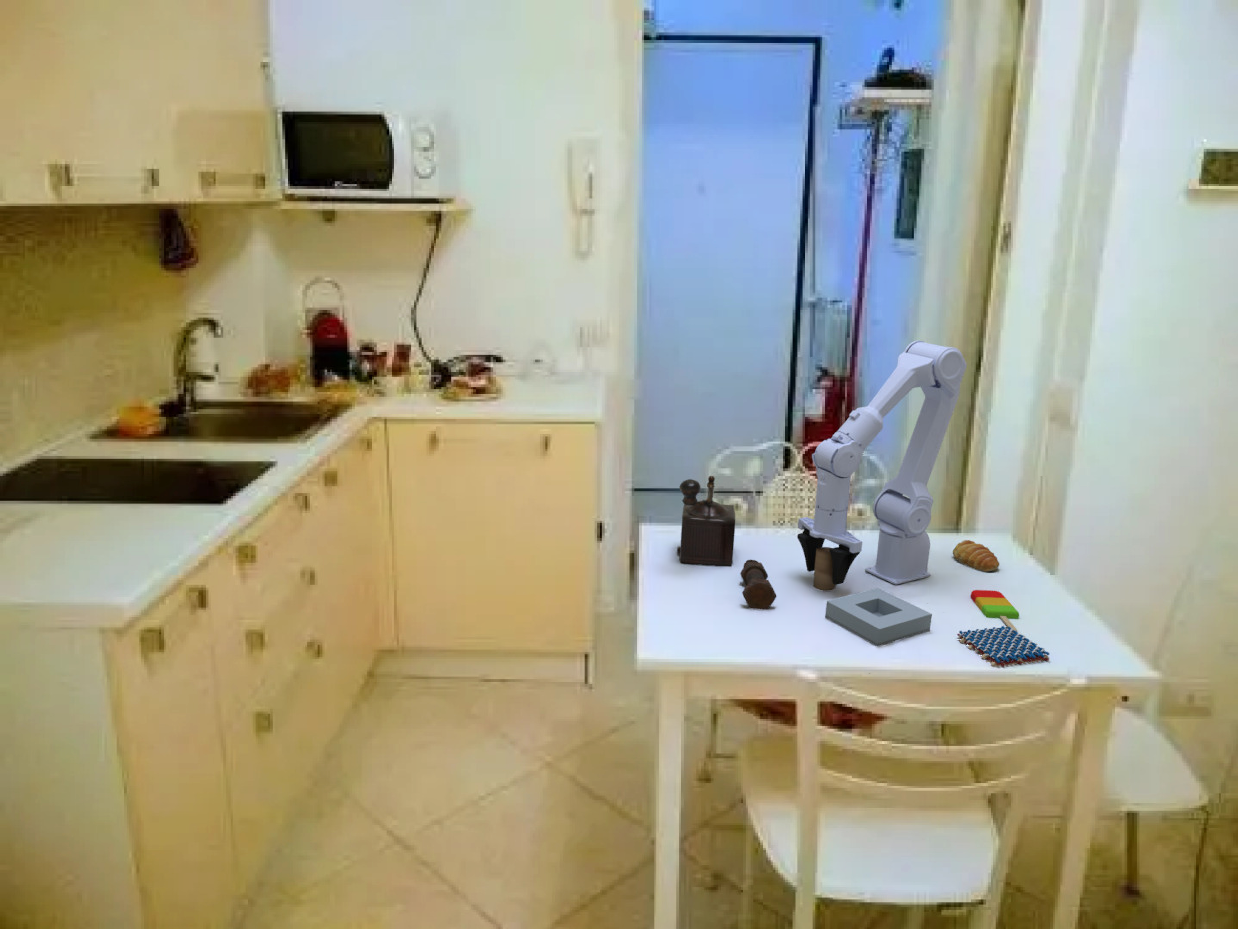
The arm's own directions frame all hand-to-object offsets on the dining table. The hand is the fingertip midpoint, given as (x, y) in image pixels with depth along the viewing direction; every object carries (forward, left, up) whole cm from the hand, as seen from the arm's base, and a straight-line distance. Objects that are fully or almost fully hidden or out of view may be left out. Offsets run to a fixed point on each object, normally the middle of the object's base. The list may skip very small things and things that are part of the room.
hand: (825, 576), depth 166 cm
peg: (0, 0, -2) cm, 2 cm away
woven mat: (-8, +32, -3) cm, 33 cm away
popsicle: (-19, +23, -3) cm, 30 cm away
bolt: (+13, -4, -2) cm, 14 cm away
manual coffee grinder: (+12, -21, -2) cm, 24 cm away
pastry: (-36, +5, -2) cm, 36 cm away
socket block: (+3, +16, -2) cm, 16 cm away
